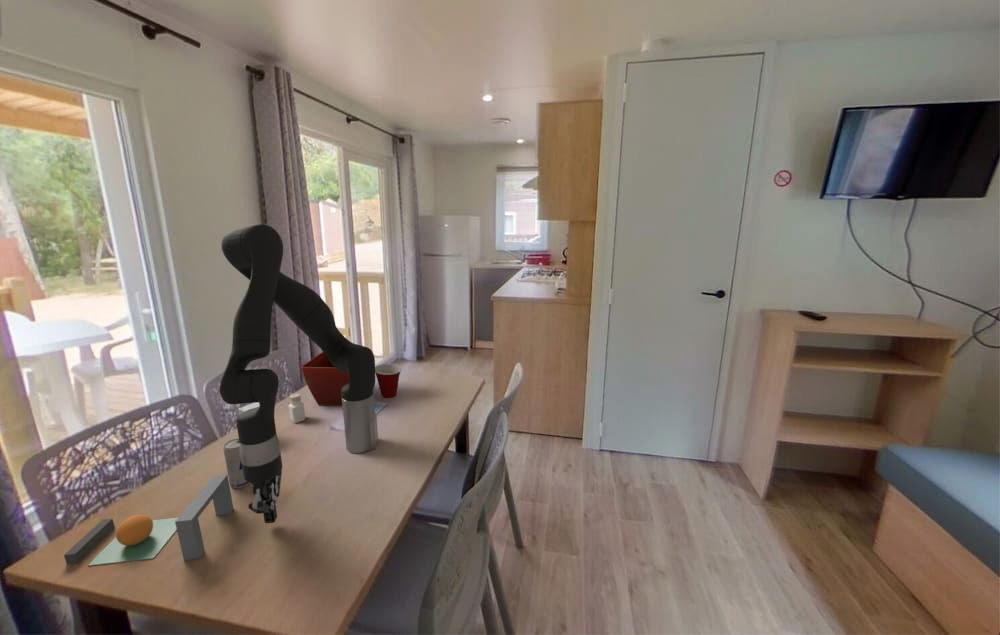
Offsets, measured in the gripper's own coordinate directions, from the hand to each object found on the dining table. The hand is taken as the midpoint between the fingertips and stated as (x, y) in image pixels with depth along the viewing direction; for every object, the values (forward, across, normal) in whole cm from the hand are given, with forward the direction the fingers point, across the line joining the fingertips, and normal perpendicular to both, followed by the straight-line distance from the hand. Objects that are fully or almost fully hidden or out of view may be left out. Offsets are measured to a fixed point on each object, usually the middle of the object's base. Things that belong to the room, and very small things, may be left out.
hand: (271, 520), depth 93 cm
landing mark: (+2, 0, +27) cm, 27 cm away
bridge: (+2, 0, +13) cm, 13 cm away
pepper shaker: (+2, +52, +10) cm, 53 cm away
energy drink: (+2, +18, +14) cm, 23 cm away
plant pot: (+2, +68, -1) cm, 68 cm away
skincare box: (+2, +40, +19) cm, 44 cm away
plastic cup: (+2, +68, -20) cm, 71 cm away
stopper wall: (+2, 0, +36) cm, 37 cm away
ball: (-2, 0, +28) cm, 28 cm away
